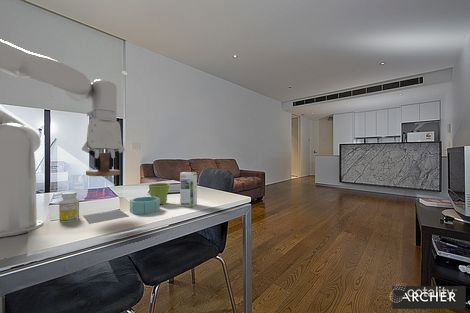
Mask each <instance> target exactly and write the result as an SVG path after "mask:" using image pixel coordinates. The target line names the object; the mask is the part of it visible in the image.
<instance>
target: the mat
mask: <svg viewBox="0 0 470 313" xmlns="http://www.w3.org/2000/svg"><path fill="white" fill-rule="evenodd" d="M82 217H83V218H84V219H85V221H86V222H87V223H88V224H89V225H90V224H95V223H101V222H107V221H112V220H118V219H124V218H128V217H130V216H129V215H128V214H126V213H125V212H124V211H122V210H121V209H115V210H111V211H110V210H109V211H104V212H98V213H91V214H86V215H82Z"/></svg>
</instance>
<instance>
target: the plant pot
mask: <svg viewBox="0 0 470 313" xmlns="http://www.w3.org/2000/svg"><path fill="white" fill-rule="evenodd" d="M147 186H148V187H149V192H150V193H149V194H150V197H158V198H160V205H165V204H167V200H168V194H169V192H168V191H169V189H170V186H171V184H170V183H166V182H158V183H157V182H156V183H148V185H147Z"/></svg>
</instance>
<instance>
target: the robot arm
mask: <svg viewBox="0 0 470 313" xmlns="http://www.w3.org/2000/svg"><path fill="white" fill-rule="evenodd" d="M0 72H1V73H4V74H6V75H9V76H11V77H13V78H16V79H20V80H34V81H38V82H41V83H44V84H48V85H50V86H53V87H54V88H57V89H60V90H62V91H64V92H65V94H66V95H67V96H68V98H70V99H71V100H72V101H73V100H74V101H76V102H80V103H81V102H91V111H87V112H86V116H87V117H90V119H89V122H88V126H87V131H86V132H87V133H86V141H85V143H84V144H83V146H82V148H81V150H82V151H84V152H85V153H87V154H89V156H92V157H93V158H94V159H93V162H94V165H93V166H94V168H95V170H100V158H99V153H100V150H108V153H110V159H109V169H110V170H113V168H114V165H115V164H114V161H115V158H116V156H118V155H119V154H120V153H123V152H124V151H125V148H124V146H123V144H122V141H123V140H122V131H121V126H120V121H117V120H118V119H117V115H118V114H117V113H118V112H117V110H118V108H117V107H118V106H117V105H118V104H117V103H118V102H117V101H118V97H117V96H118V89H117V85H116V83H115V82H112V81H111V80H106V79H95V80H94V81H92V82H91V80H90V78H89V77H88V76H87V75H86V74H85V73H83V72H81V71H80V70H78V69H76V68H74V67H72V66H69V65H67V64H65V63H63V62H60V61H58V60H56V59H52V58H50V57H48V56H44V55H41V54H38V53H33V52H30V51H28V50H25V49H23V48H21V47H18V46H16V45H14V44H12V43H10V42H8V41H4V40H2V39H0ZM41 143H42V142H41V138H40V135H39V134H38V133H37V132H36V131H35V130H34V129H33V128H31V127H29V126H27V125H26V124H24V123H23V122H21V121H19V120H18V119H16V118H14V117H13V116H12V115H10V114H8V113H7V112H6V111H4V110H2V109H0V238H5V237H12V236H18V235H22V234H26V233H29V232H30V231H33V230H36V229H39V228H40V227H42V226H44V221H43V220H40V219H37V218H38V217H37V216H38V215H37V214H38V212H37V211H38V210H37V176H36V174H37V173H36V171H37V170H36V159H35V158H36V156H35V152H36V151H38V150H39V148H40V145H41Z"/></svg>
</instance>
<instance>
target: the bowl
mask: <svg viewBox="0 0 470 313" xmlns="http://www.w3.org/2000/svg"><path fill="white" fill-rule="evenodd" d="M160 210H161V204H160V198H158V197H151V196H140V197H133V198H132V199H130V200H129V212H130V213H131V214H133V215H147V214H148V215H149V214H153V213H157V212H158V211H160Z"/></svg>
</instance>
